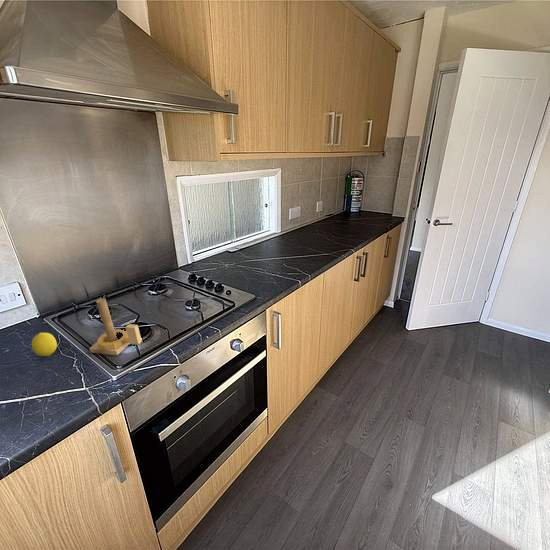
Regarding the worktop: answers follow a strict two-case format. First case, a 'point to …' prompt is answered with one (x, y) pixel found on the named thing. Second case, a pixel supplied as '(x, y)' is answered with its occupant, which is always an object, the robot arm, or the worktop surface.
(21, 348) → the worktop surface
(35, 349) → the lemon
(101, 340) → the hang ring
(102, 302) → the peg stand
